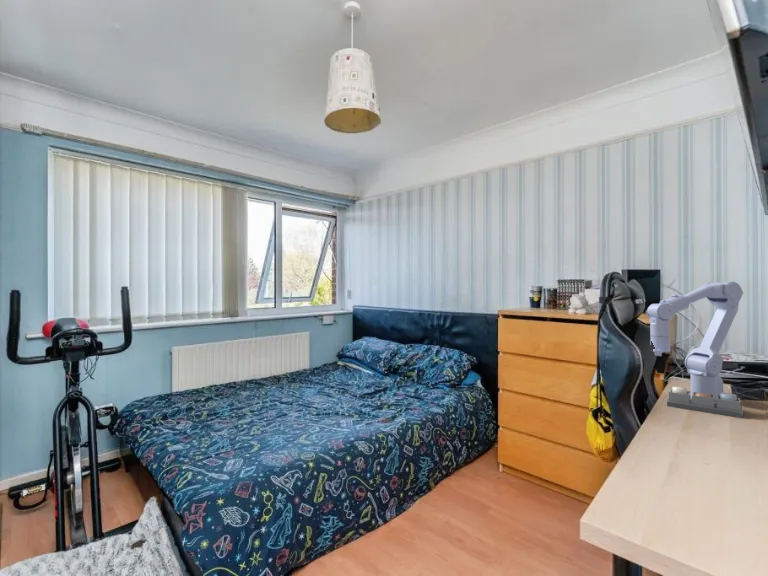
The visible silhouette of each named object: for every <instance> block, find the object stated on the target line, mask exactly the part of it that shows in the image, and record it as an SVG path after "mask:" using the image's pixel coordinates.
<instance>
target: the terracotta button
mask: <svg viewBox="0 0 768 576" xmlns="http://www.w3.org/2000/svg"><path fill="white" fill-rule="evenodd" d="M695 395H696V396H703V397H710V398H711V395H710V394H706V393H695Z"/></svg>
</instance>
